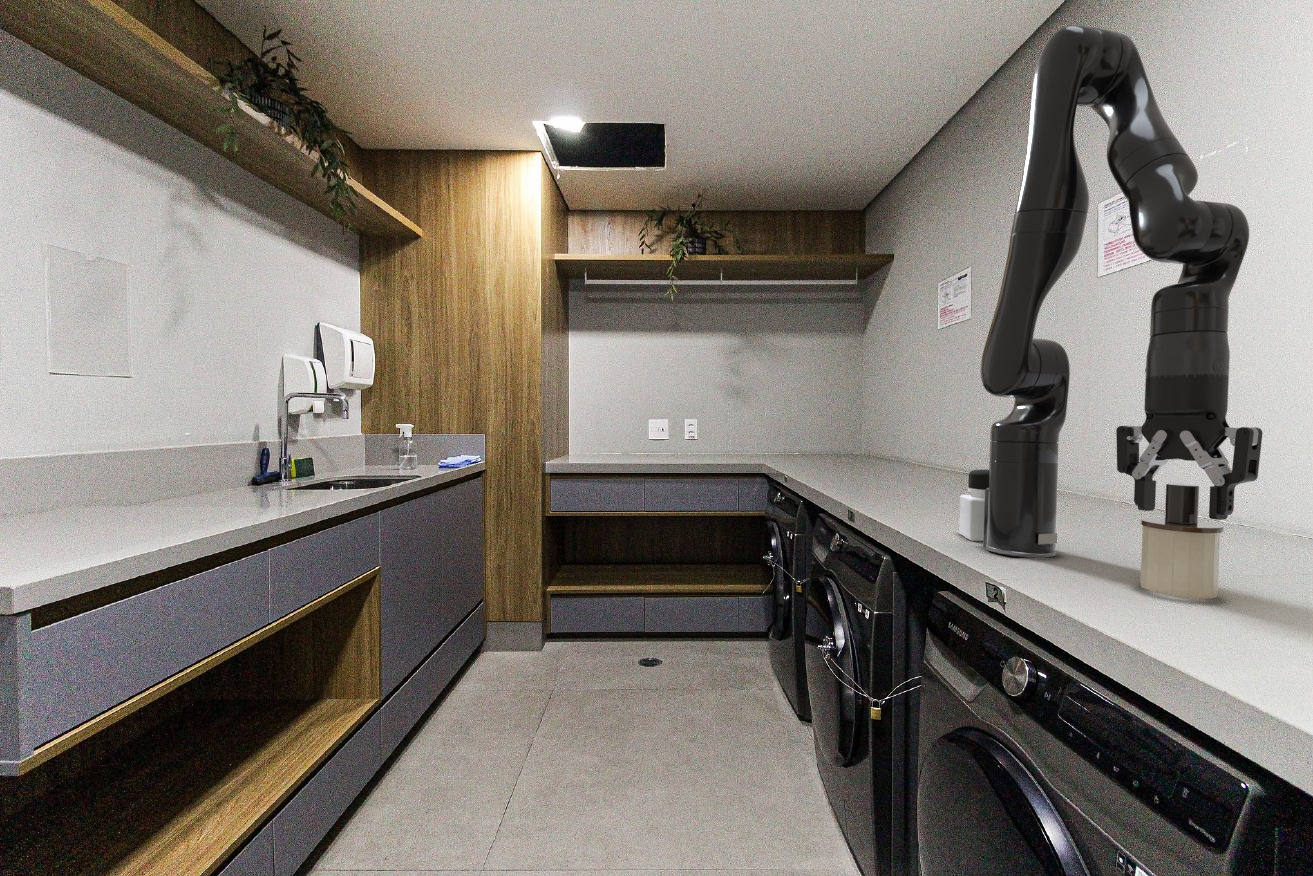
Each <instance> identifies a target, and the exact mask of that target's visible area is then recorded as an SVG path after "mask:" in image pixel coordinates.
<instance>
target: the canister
mask: <svg viewBox="0 0 1313 876" xmlns="http://www.w3.org/2000/svg"><path fill="white" fill-rule="evenodd" d="M1220 541H1221V533H1190V532H1179V531H1170V530H1162V529H1156V528H1150V527H1146V526H1143V525H1141V549H1140V550H1141V551H1140V552H1141V553H1140V580H1139V586H1140V587H1141V588H1143V589H1144V590H1147V591H1149V592H1150V591H1151V592H1154V593H1158V594H1163V595H1167V596H1172V597H1180V598H1187V599H1202V600H1204V599H1206V600H1207V599H1215V598H1217V597H1218V590H1219V565H1220Z"/></svg>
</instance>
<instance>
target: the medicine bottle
mask: <svg viewBox="0 0 1313 876" xmlns="http://www.w3.org/2000/svg"><path fill="white" fill-rule="evenodd" d="M967 480H968V483H967V486H968V487H967V492H968V493H969V494H961V495H960V496H959V523H958V527H959V528H958V533H959V534H960V535H961V536H962V537H964V538H966V539H967V540H969V541H971V542H983V536H984V504H985V489H986V488H989V469H987V468H986V469H984V468H983V469H973V470H970V471H969V472H968V479H967Z"/></svg>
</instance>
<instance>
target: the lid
mask: <svg viewBox="0 0 1313 876" xmlns="http://www.w3.org/2000/svg"><path fill="white" fill-rule="evenodd" d="M1199 500H1200V485H1197V484H1190V483H1166V484H1165V502H1164V503H1165V504H1164V505H1165V507H1164V517H1144V518H1140V523H1139V524H1140V525H1141V526H1142V525H1143V526H1146V527H1150V528H1156V529H1162V530H1170V531H1179V532H1190V533H1220V534H1222V533H1224V532H1225V527H1224V525H1221V524H1218V523H1213V522H1207V521H1199V505H1200V504H1199V502H1200V501H1199Z"/></svg>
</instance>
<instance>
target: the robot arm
mask: <svg viewBox="0 0 1313 876" xmlns="http://www.w3.org/2000/svg"><path fill="white" fill-rule="evenodd" d="M1029 107H1030V108H1029V119H1028V120H1029V121H1028V129H1027V130H1028V131H1027V142H1026V150H1025V157H1024V162H1023V163H1024V164H1023V170H1022V176H1021V183H1020V188H1019V193H1018V198H1017V202H1016V207H1015V210H1014V215H1013V221H1012V227H1011V232H1010V236H1009V245H1008V251H1007V257H1006V263H1005V267H1004V272H1003V276H1002V281H1001V286H1000V290H999V295H998V299H997V303H996V307H995V311H994V314H993V317H992V320H991V324H990V326H989V330H988V334H987V338H986V340H985V344H984V347H983V351H982V355H981V360H980V380H981V384H982V387H983V389H985V391H986V392H987V393H988V394H990V395H991V396H993V397H997V398H1013V399H1014V403H1013V408H1012V410H1011V412H1010V413H1009V414H1008V415H1006V416H1005V417H1004V418H1001V419H1000V420H997V421H995V422H993V423H992V424H991V427H990V431H989V432H990V433H989V458H988V459H989V462H988V463H989V464H988V465H989V466H988V470H989V488H986V489H985V504H984V536H983V541H982V547H984V548H985V549H986V550H987V551H988V552H992V553H995V554H999V555H1003V556H1010V557H1017V558H1028V559H1048V558H1049V559H1050V558H1055V557H1056V555H1057V551H1056V544H1058V532H1057V511H1058V510H1057V509H1058V507H1057V505H1058V475H1059V447H1060V445H1059V443H1060V433H1061V431H1062V429H1063V427H1064V424H1065V422H1066V419H1067V410H1068V402H1069V401H1068V399H1069V390H1070V389H1069V388H1070V378H1071V367H1070V366H1071V365H1070V359H1069V356H1068V353H1067V351H1066V349H1065V348H1064V347H1063V345H1061V343H1059V342H1057V341H1056V340H1051V339H1047V338H1037V337H1036V338H1034V334H1035V329H1036V325H1037V322H1038V321H1037V320H1038V318H1039V314H1040V311H1041V308H1042V305H1043V304H1044V302H1045V300H1046V298H1047V296H1048V295H1049V294H1050V292H1051V290H1052V289H1053V288H1054V286H1055V285H1056V284H1057V283H1058V281H1059V280H1060V279H1061V277H1062V276H1063V275H1064V273H1065V272H1066V271H1067V270H1068V268H1069V267H1070V265H1071V264H1072V263H1073V262H1074V260H1075V259H1076V257H1077V255H1078V253H1079V251H1080V249H1081V246H1082V243H1083V238H1084V233H1085V228H1086V224H1087V219H1088V214H1089V208H1090V193H1089V187H1088V183H1087V179H1086V174H1085V172H1084V168H1083V166H1082V163H1081V160H1080V157H1079V154H1078V150H1077V146H1076V141H1075V121H1076V114H1077V107H1089V108H1090V109H1091V110H1093V111H1094V112H1095V113H1096V114H1097V115H1098V116H1099V117H1100V118H1101V119H1102V120H1103V121H1104V122H1105V124H1106V125H1107V127H1108V130H1109V131H1108V132H1109V136H1108V141H1107V147H1106V160H1107V165H1108V168H1109V170H1110V173H1111V175H1112V177H1113V179H1114V181H1115V182H1116V184H1117V186H1118V188H1119V189H1120V191H1121V193H1122V194H1123V196H1124V198H1125V199H1126V200H1127V202H1128V208H1129V209H1128V211H1129V219H1130V225H1131V230H1132V231H1131V232H1132V236H1133V241H1134V243H1135V245H1136V246H1137V248H1138V250H1139V251H1140V252H1141V253H1142V254H1143V255H1144V256H1145V257H1147V258H1148V259H1150V260H1152V261H1154V262H1157V263H1162V264H1177V265H1178V264H1179V265H1182V267H1181V273H1180V276H1179V278H1178V281H1177V283H1174V284H1170V285H1166V286H1164V287H1162V288H1160V289H1157V291H1156V292H1155V293H1154V295H1153V296H1152V299H1151V303H1150V321H1149V322H1150V323H1149V342H1148V346H1147V351H1146V357H1145V358H1146V359H1145V369H1144V373H1145V383H1144V387H1145V388H1144V406H1143V407H1144V408H1143V409H1144V413H1145V421H1144V422H1143V424H1142V425H1140V426H1139V425H1137V426H1136V425H1119V426H1117V428H1116V431H1115V432H1116V433H1115V435H1116V440H1115V441H1116V470H1117V472H1118V473H1120V474H1126V475H1128V476H1130V477H1132V479H1133V480H1134V488H1133V489H1134V490H1133V502H1134V505H1135V506H1137V509H1138V511H1142V512H1143V511H1144V512H1148V511H1150V512H1151V511H1154V510H1155V509H1156V495H1157V494H1156V492H1157V480H1155V479H1153V478H1154V477H1155V476H1156V475H1157V474H1158V472H1159V471H1160V469H1161V468H1162V467H1163V466H1164V465H1167V464H1168V462H1169V461H1170V460H1182V461H1189V462H1196V464H1197V465H1198V467H1199V468H1200V469H1202V470H1203V471H1204V472H1205V474H1206V475H1207V477H1208V478H1209V480H1210V481H1211V483H1212V486H1211V485H1210V486H1209V501H1208V502H1209V503H1208V504H1209V505H1208V518H1209V519H1210V520H1217V521H1221V520H1227V519H1228V516H1231V515H1232V514H1233V513H1234V511H1235V508H1234V507H1235V502H1234V501H1235V488H1236V487H1237V486H1238V485H1240V484H1245V483H1250V482H1255V481H1256V480H1257V479H1258V477H1259V468H1260V462H1261V461H1260V459H1261V452H1262V451H1261V450H1262V441H1263V430H1262V429H1261V428H1260V427H1253V426H1241V427H1231V426H1229V424H1228V422H1227V419H1226V418H1227V413H1228V408H1229V407H1228V405H1229V403H1228V401H1229V380H1230V379H1229V378H1230V358H1231V357H1230V356H1231V355H1230V353H1231V352H1230V345H1229V335H1228V334H1229V333H1228V332H1229V311H1230V310H1229V307H1230V305H1229V304H1230V303H1229V300H1230V295H1231V292H1232V290H1233V288H1234V286H1235V284H1236V281H1237V279H1238V275H1239V273H1240V270H1241V266H1242V264H1243V261H1244V259H1245V255H1246V253H1247V249H1248V245H1249V242H1250V224H1249V221H1248V219H1247V216H1246V215H1245V213H1244V212H1243V210H1242V209H1241V208H1239V207H1238V206H1236V205H1234V204H1232V203H1227V202H1219V201H1218V202H1216V201H1205V200H1196V199H1193V198H1191V197H1190V196H1189V195H1190V194H1191V193H1192V192H1193V191H1194V190H1195V188H1196V186H1197V184H1198V181H1199V172H1198V170H1197V167H1196V165H1195V164H1194V162H1193V160H1192V159H1191V157H1190V156H1189V154H1188V153H1187V151H1186V150H1185V148H1184V147H1183V145H1182V144H1181V143H1180V140H1178V138H1177V136H1176V135H1175V134H1174V132H1173V131H1172V129H1171V128H1170V126H1169V125H1168V123H1167V121H1166V120H1165V118H1164V115H1163V114H1162V112H1161V110H1160V108H1159V105H1158V103H1157V100H1156V98H1155V95H1154V92H1153V89H1152V86H1151V83H1150V81H1149V78H1148V76H1147V72H1146V70H1145V67H1144V64H1143V61H1142V57H1141V54H1140V52H1139V50H1138V48H1137V46H1136V44H1135V43H1134V41H1133V40H1132V38H1131V37H1130V36H1128V35H1126V34H1125V33H1122V32H1119V31H1115V30H1112V29H1111V30H1110V29H1105V28H1100V27H1099V28H1098V27H1095V26H1088V25H1082V24H1068V25H1065V26H1063V27H1061V28H1060V29H1058V30H1057V31H1055V33H1053V34H1052V35H1051V36H1050V37H1049V38H1048V40H1047V41H1046V43H1045V44H1044V46H1043V48H1042V50H1041V52H1040V54H1039V57H1038V60H1037V62H1036V65H1035V70H1034V73H1033V79H1032V86H1031V96H1030V106H1029ZM1143 437H1144V439H1145V440H1146V442H1147V443H1148V445H1147V447H1146V449H1145V450H1144V451H1143V452H1142V454H1141V455H1140V443H1141V442H1142V440H1143ZM1227 439H1229V441H1230V442H1229V443H1230V445H1231V446H1232V447H1234V448H1233V456H1232V457H1233V459H1232V467H1230V466H1229V460H1228V459H1227V457H1226V455H1225V454H1224V453H1223V451H1222V449H1221V447H1220V446H1222V444H1223V443H1224V442H1225V441H1226V440H1227Z"/></svg>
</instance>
